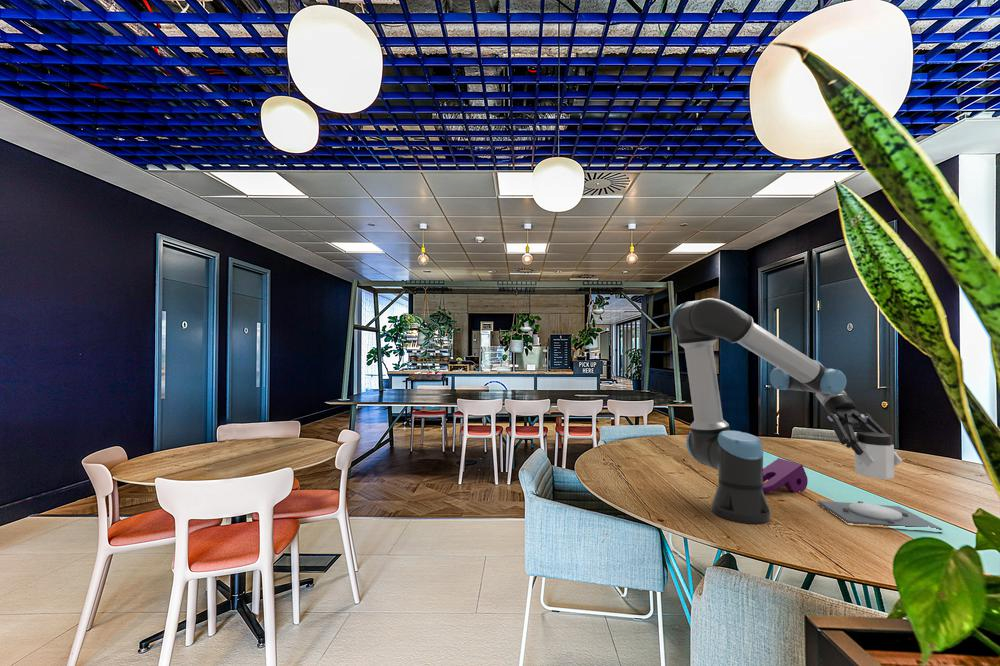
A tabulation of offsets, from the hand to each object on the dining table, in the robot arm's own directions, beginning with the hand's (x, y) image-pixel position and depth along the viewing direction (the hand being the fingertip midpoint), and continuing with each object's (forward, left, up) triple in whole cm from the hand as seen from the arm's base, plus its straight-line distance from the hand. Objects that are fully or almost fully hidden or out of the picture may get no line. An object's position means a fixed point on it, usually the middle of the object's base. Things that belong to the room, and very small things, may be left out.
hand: (884, 463), depth 131 cm
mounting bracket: (-20, +26, -17) cm, 37 cm away
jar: (-1, +3, -4) cm, 5 cm away
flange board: (-1, +3, -16) cm, 17 cm away
